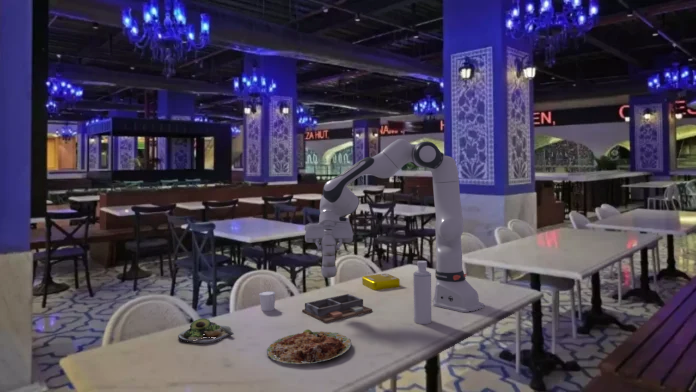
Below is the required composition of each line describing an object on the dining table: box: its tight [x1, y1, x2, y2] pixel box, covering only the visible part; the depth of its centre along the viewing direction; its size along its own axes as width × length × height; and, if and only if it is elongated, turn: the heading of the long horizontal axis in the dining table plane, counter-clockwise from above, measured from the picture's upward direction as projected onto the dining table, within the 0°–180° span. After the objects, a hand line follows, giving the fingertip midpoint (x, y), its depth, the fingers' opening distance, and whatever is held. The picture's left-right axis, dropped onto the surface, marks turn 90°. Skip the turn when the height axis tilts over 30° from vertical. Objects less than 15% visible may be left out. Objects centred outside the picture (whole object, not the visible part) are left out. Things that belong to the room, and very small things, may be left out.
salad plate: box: [177, 318, 234, 344], centre depth 173 cm, size 19×18×5 cm
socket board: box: [301, 293, 373, 324], centre depth 198 cm, size 18×23×4 cm
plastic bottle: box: [320, 229, 338, 279], centre depth 197 cm, size 6×7×20 cm
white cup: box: [258, 290, 276, 312], centre depth 204 cm, size 7×7×7 cm
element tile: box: [361, 272, 401, 291], centre depth 240 cm, size 15×15×5 cm
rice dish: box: [266, 329, 352, 365], centre depth 158 cm, size 28×28×5 cm
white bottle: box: [413, 260, 432, 325], centre depth 183 cm, size 7×7×25 cm
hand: (328, 249), depth 196 cm, fingers closed on plastic bottle, 6 cm apart
